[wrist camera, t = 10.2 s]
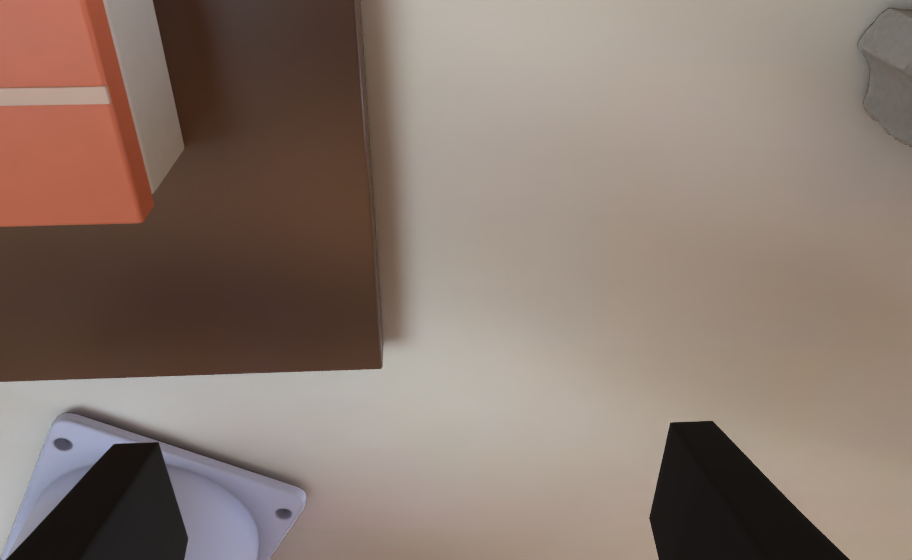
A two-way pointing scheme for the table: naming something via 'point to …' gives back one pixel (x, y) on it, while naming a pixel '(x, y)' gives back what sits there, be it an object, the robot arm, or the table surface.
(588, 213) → the table surface
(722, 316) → the table surface
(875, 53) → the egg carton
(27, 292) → the serving board
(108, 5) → the salmon nigiri
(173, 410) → the table surface
